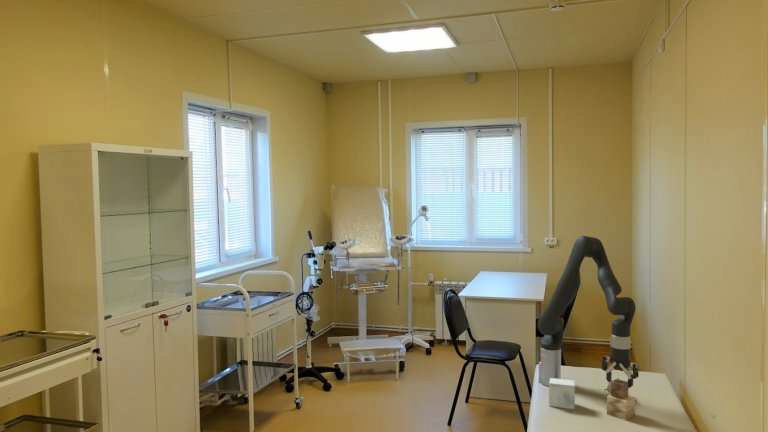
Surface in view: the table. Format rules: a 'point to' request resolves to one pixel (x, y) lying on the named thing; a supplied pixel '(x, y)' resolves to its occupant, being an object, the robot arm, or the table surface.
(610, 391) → the game die
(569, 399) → the skincare box
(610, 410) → the tower base
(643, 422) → the table surface
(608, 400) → the tower top
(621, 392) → the block
